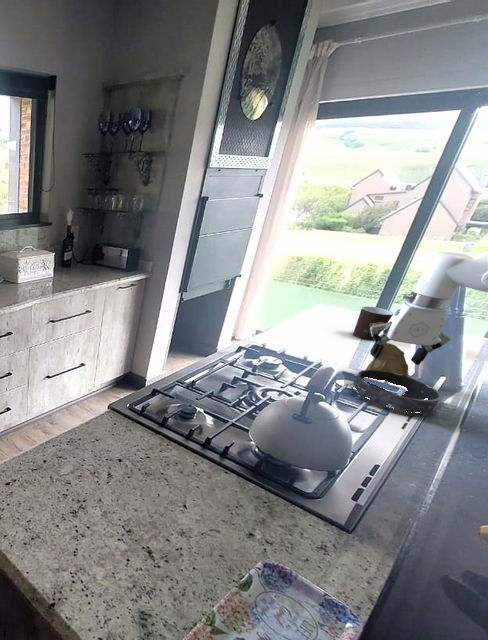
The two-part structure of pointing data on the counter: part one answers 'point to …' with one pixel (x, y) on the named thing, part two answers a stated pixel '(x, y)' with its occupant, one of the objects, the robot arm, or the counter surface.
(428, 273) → the robot arm
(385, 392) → the dark grey ring
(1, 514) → the counter surface
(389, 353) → the rock
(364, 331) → the coffee mug
